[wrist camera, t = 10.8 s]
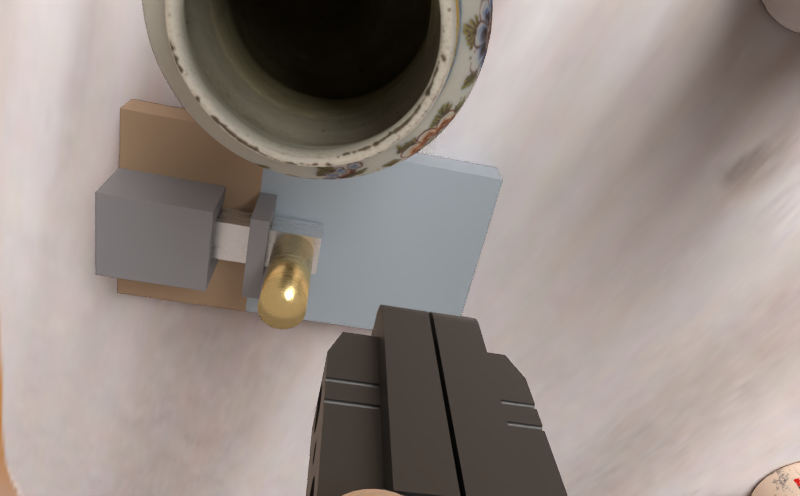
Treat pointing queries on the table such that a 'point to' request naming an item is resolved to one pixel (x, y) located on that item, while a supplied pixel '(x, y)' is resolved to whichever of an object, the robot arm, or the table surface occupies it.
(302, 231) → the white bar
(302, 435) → the table surface
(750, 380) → the table surface
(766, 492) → the teacup with lid
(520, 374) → the robot arm
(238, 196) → the door and jamb lock plate
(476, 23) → the apothecary jar
